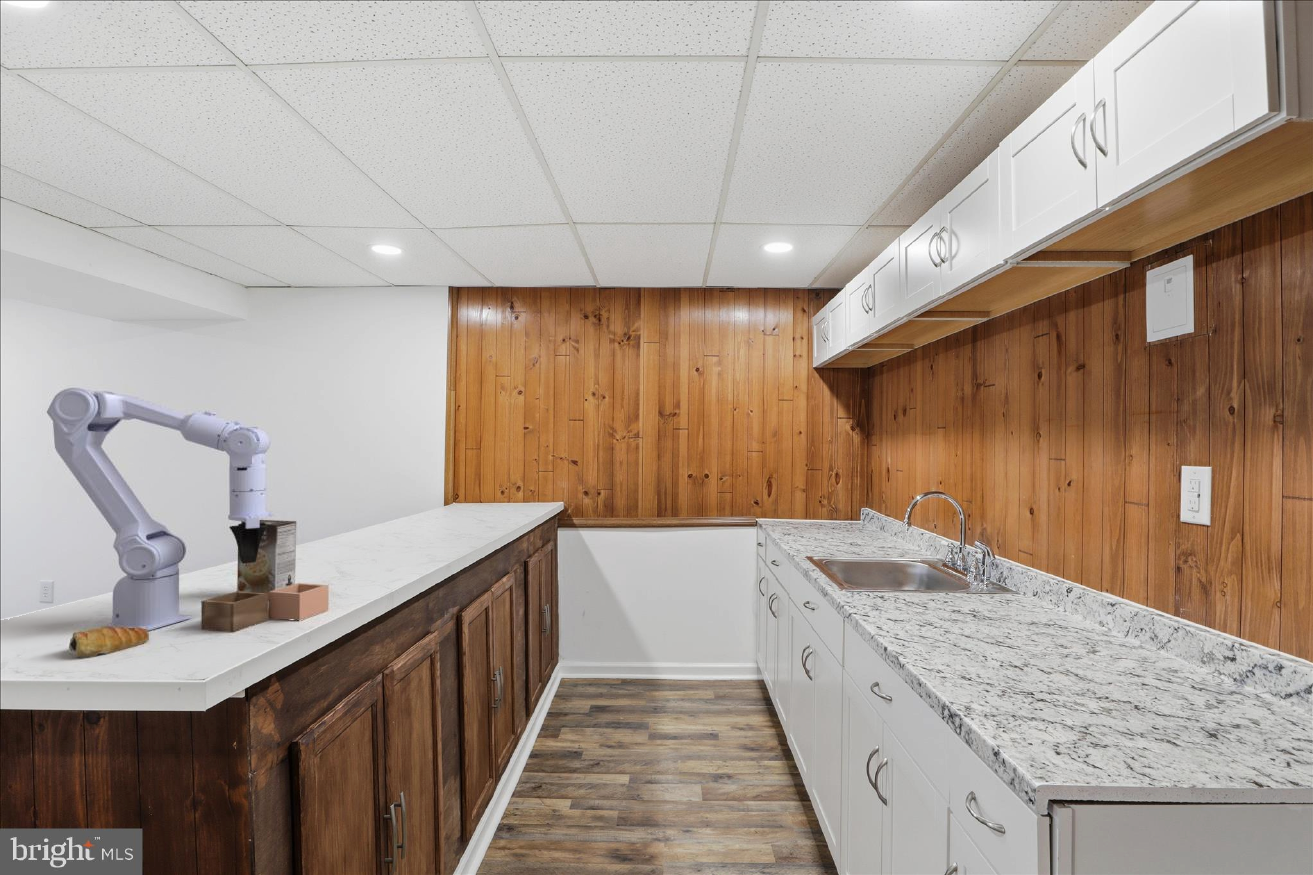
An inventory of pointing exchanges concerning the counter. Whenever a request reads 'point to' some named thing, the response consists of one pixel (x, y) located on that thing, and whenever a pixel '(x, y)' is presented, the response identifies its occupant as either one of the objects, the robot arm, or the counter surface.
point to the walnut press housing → (234, 611)
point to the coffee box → (271, 560)
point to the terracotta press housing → (298, 601)
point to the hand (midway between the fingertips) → (248, 562)
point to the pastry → (106, 640)
